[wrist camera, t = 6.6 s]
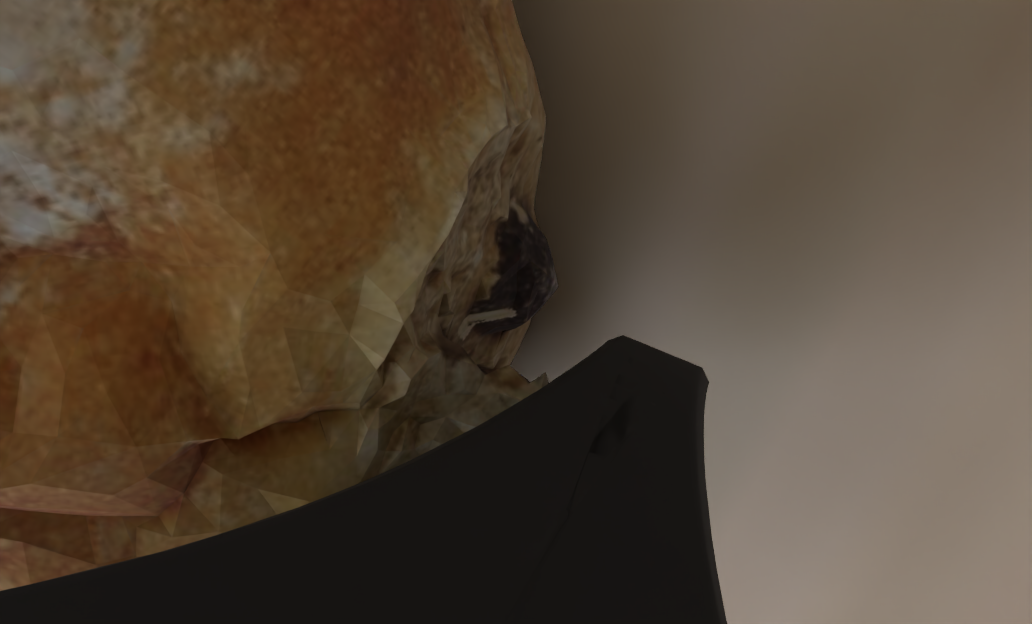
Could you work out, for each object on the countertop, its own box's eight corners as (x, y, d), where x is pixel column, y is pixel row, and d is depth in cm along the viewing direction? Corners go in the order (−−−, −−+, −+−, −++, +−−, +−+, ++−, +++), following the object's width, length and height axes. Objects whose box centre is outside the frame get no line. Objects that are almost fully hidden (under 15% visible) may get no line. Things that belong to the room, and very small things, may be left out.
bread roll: (450, -393, 11) (-620, -1291, 4) (853, 397, 9) (-135, 852, 2) (85, 88, 16) (-626, -8, 10) (273, 646, 14) (-487, 979, 8)
